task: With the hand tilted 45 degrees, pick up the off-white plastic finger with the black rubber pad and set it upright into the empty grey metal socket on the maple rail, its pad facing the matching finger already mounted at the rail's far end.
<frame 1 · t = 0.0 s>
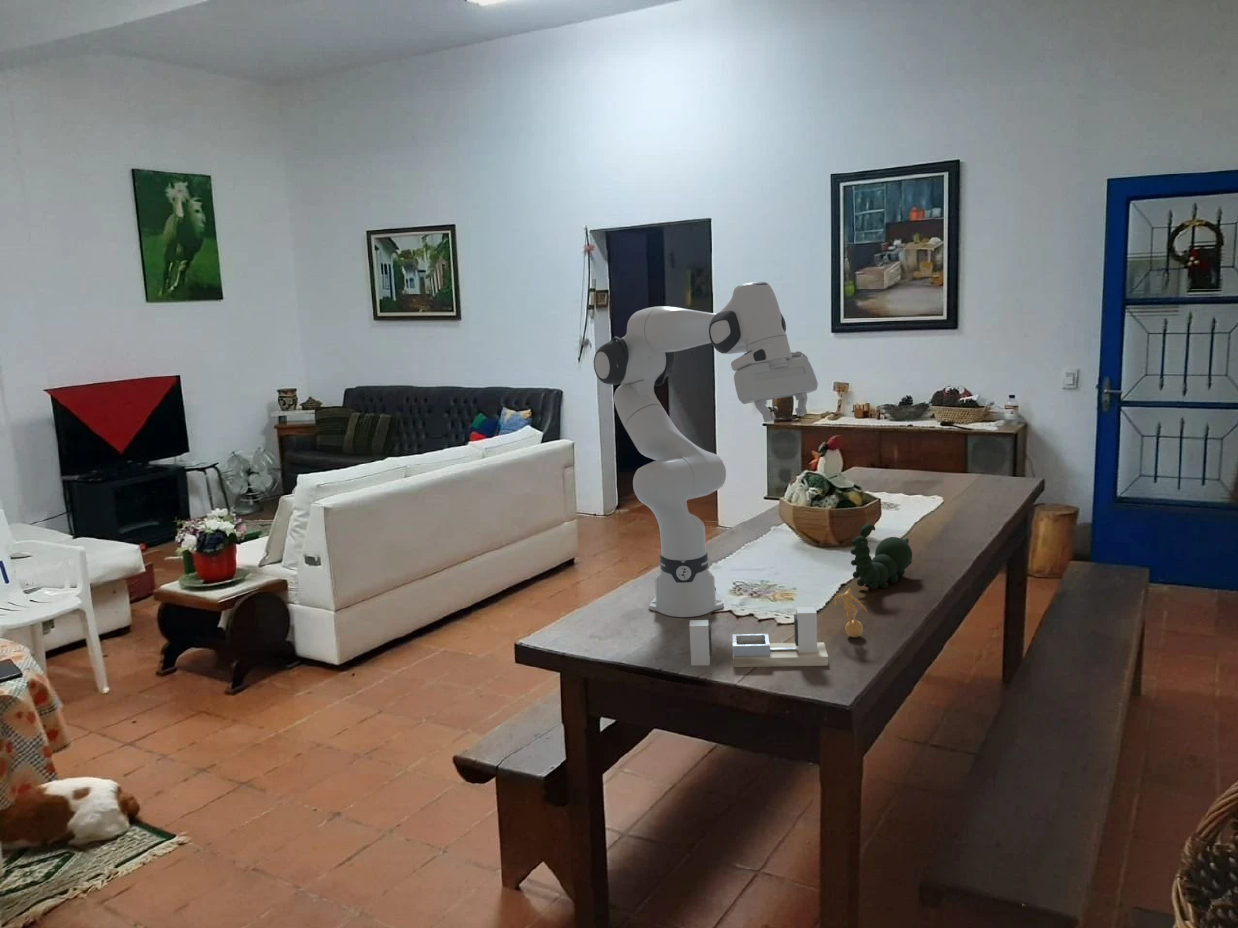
hand: (786, 418, 203), 52 cm above the table, tool tilted 20°, fingers open, 8 cm apart
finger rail: (779, 658, 209), on the table
figurine: (851, 638, 218), on the table
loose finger: (700, 662, 210), on the table
toy figurine: (883, 583, 254), on the table
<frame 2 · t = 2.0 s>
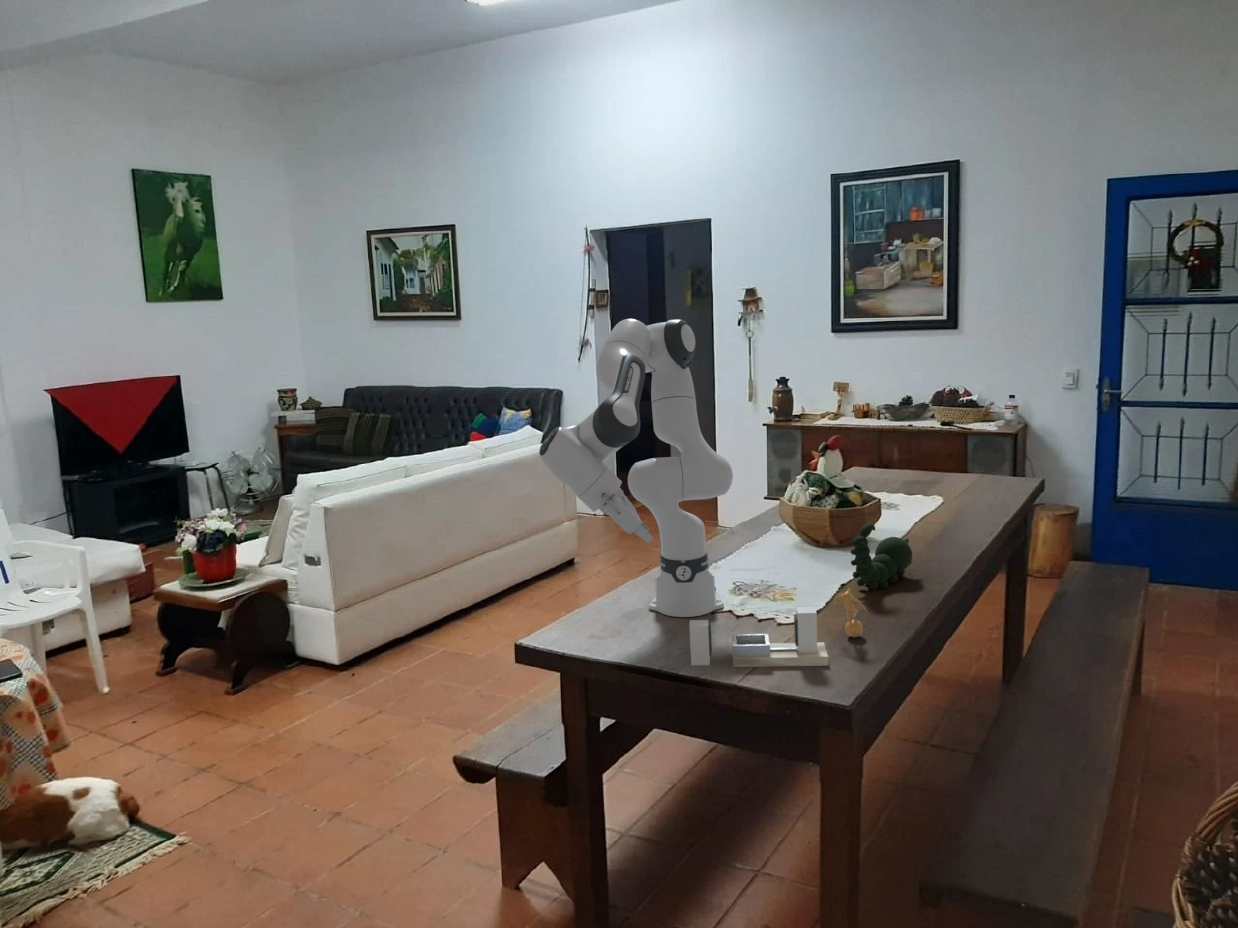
hand: (648, 536, 204), 29 cm above the table, tool tilted 40°, fingers open, 8 cm apart
nothing on the table moved.
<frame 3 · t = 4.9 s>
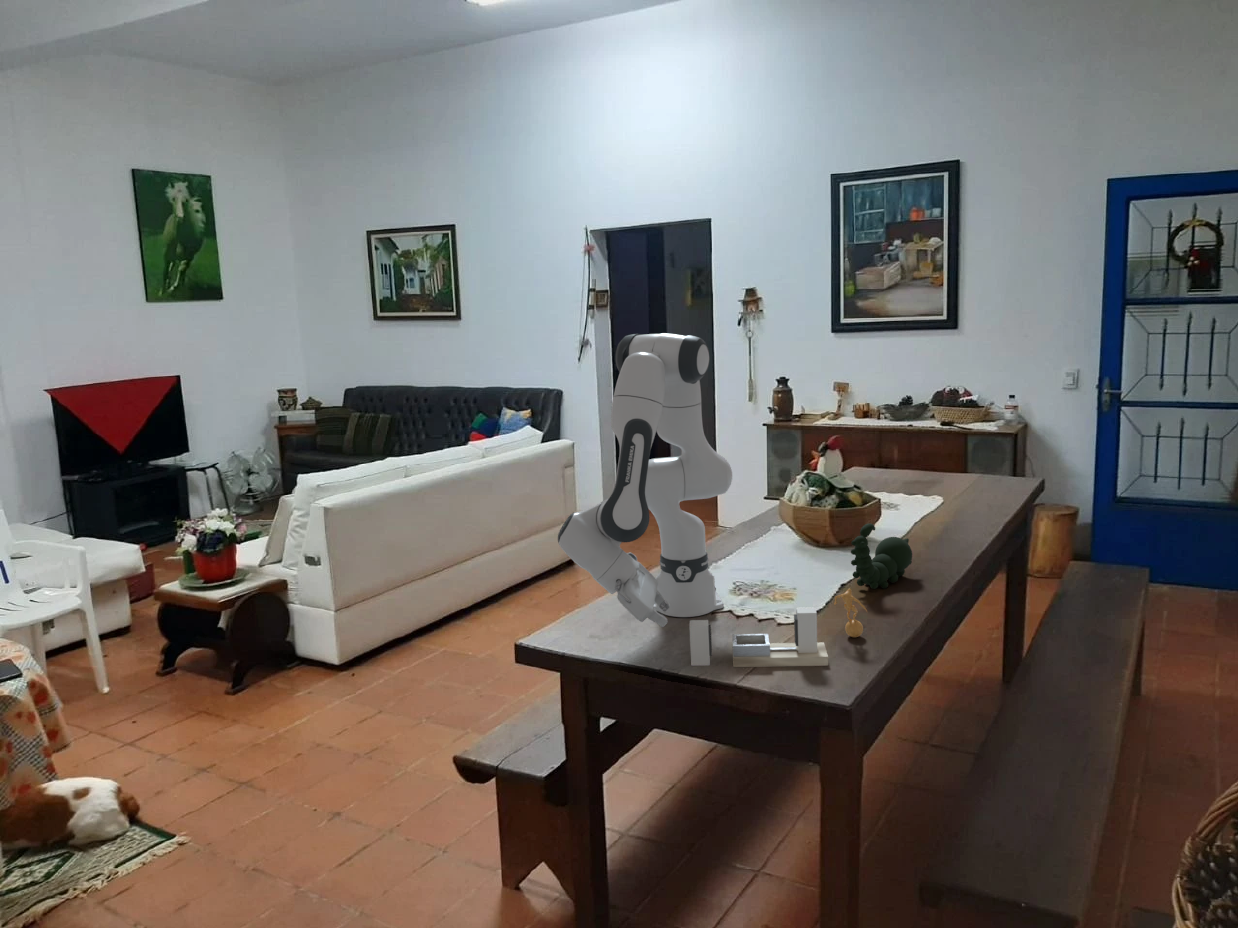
hand: (666, 615, 208), 11 cm above the table, tool tilted 45°, fingers open, 8 cm apart
nothing on the table moved.
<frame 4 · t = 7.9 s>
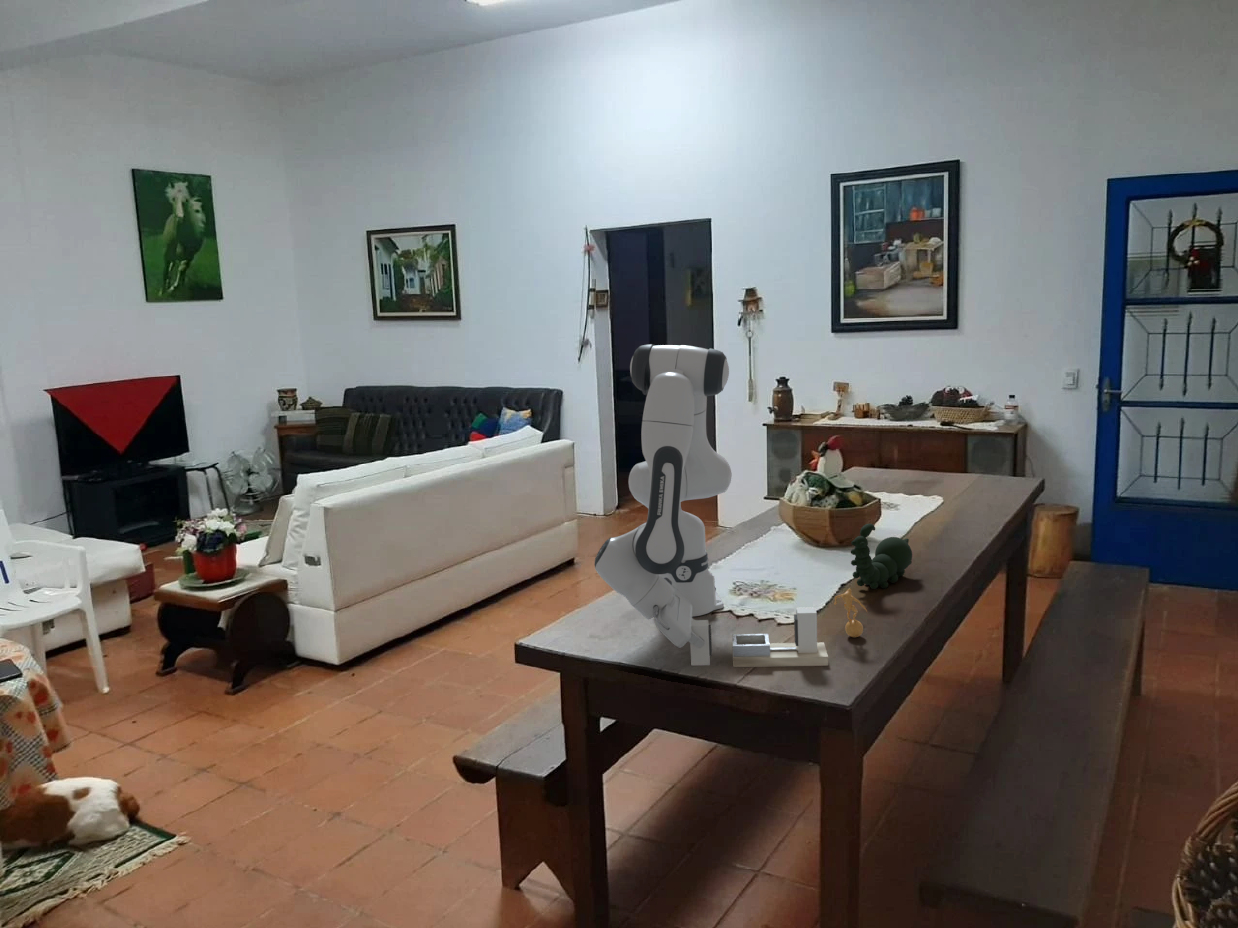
hand: (702, 640, 209), 5 cm above the table, tool tilted 45°, fingers closed on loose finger, 3 cm apart
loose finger: (700, 661, 210), on the table, touching gripper
everything else where it was.
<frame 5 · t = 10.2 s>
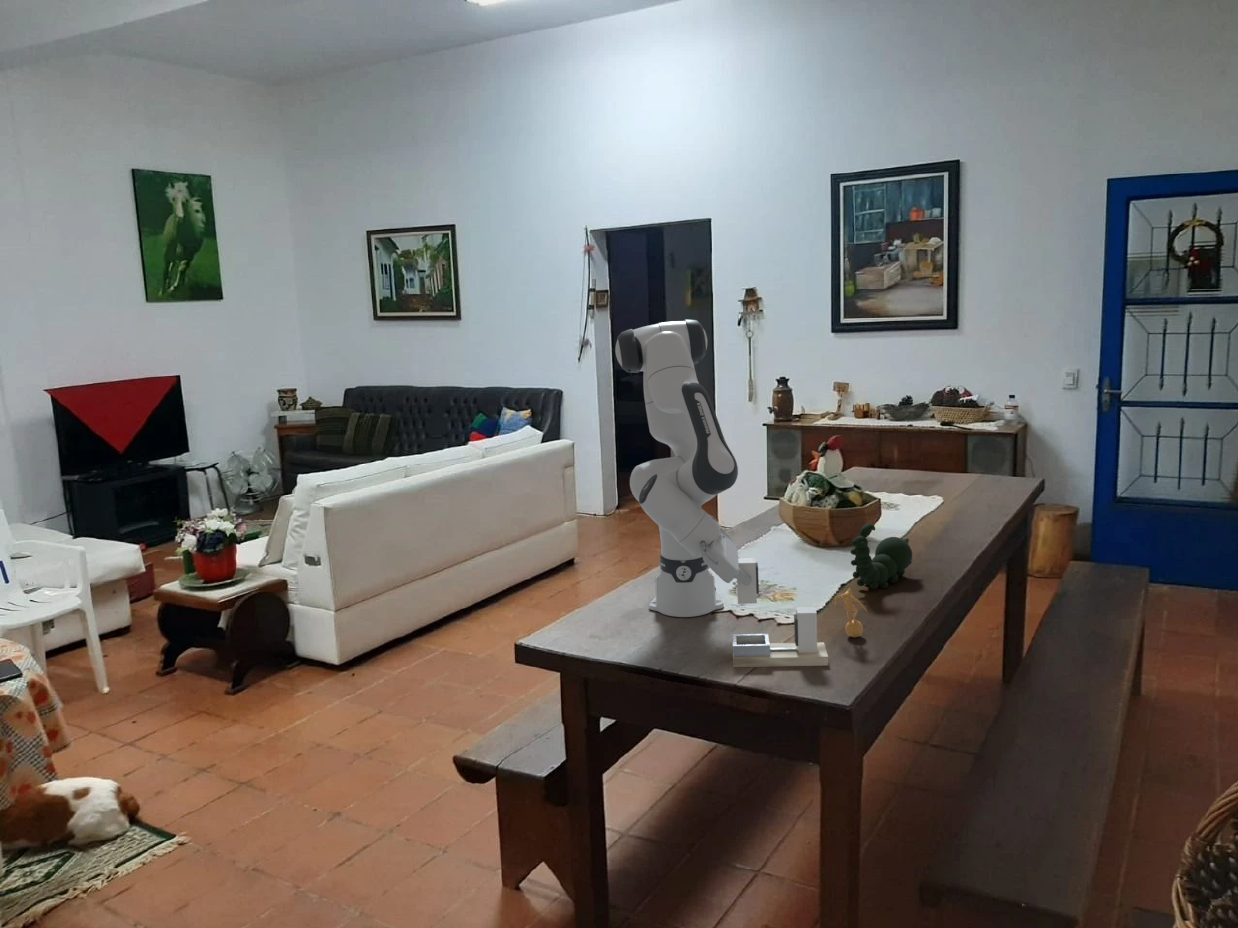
hand: (749, 578, 206), 18 cm above the table, tool tilted 45°, fingers closed on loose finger, 3 cm apart
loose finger: (747, 600, 207), point 13 cm above the table, touching gripper
everything else where it was.
when the fingers open (8 cm above the table, at t = 12.8 s): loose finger drops 1 cm, resting on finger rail.
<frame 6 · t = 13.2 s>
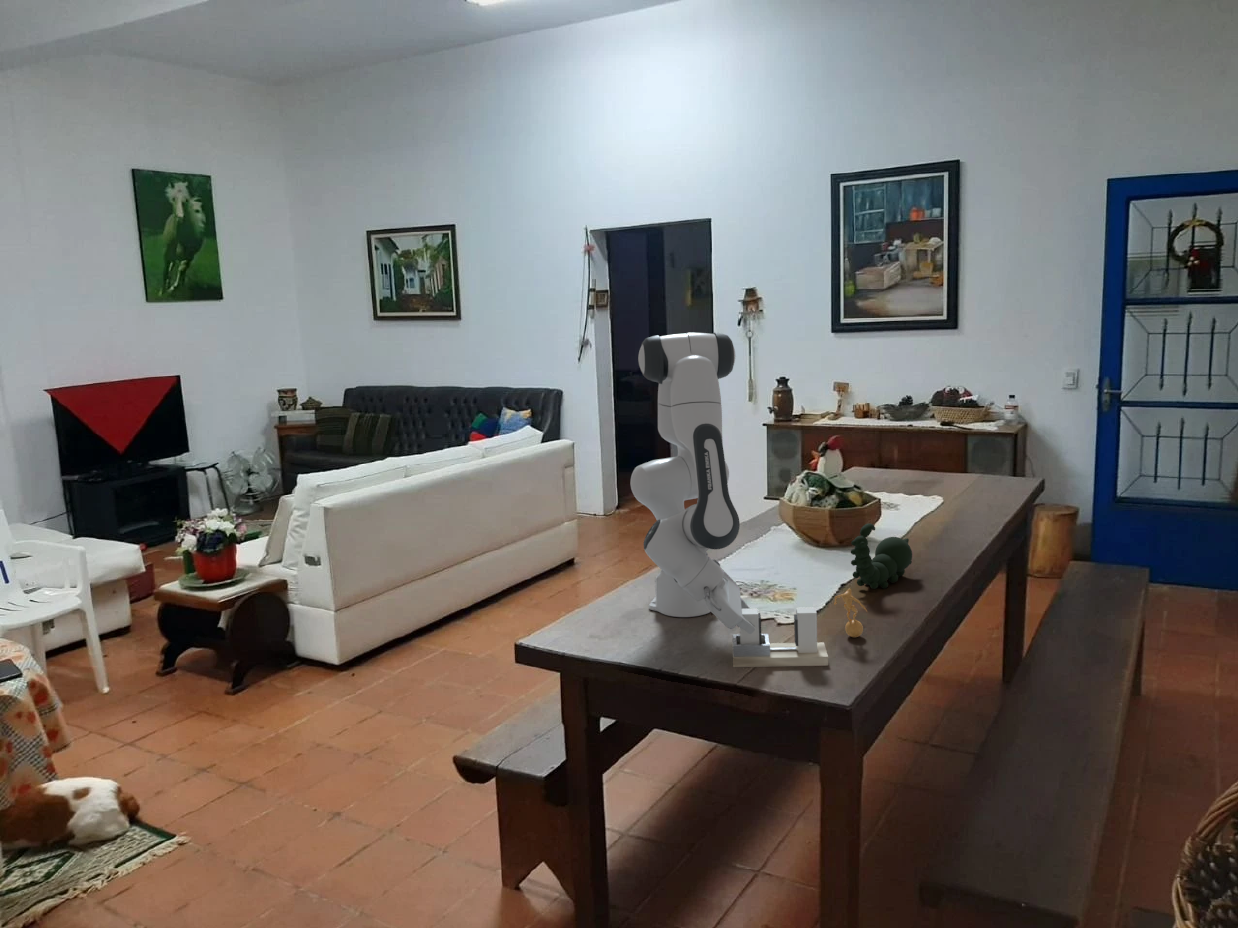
hand: (752, 622, 208), 8 cm above the table, tool tilted 45°, fingers open, 8 cm apart
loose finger: (750, 650, 209), point 2 cm above the table, touching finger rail
everything else where it was.
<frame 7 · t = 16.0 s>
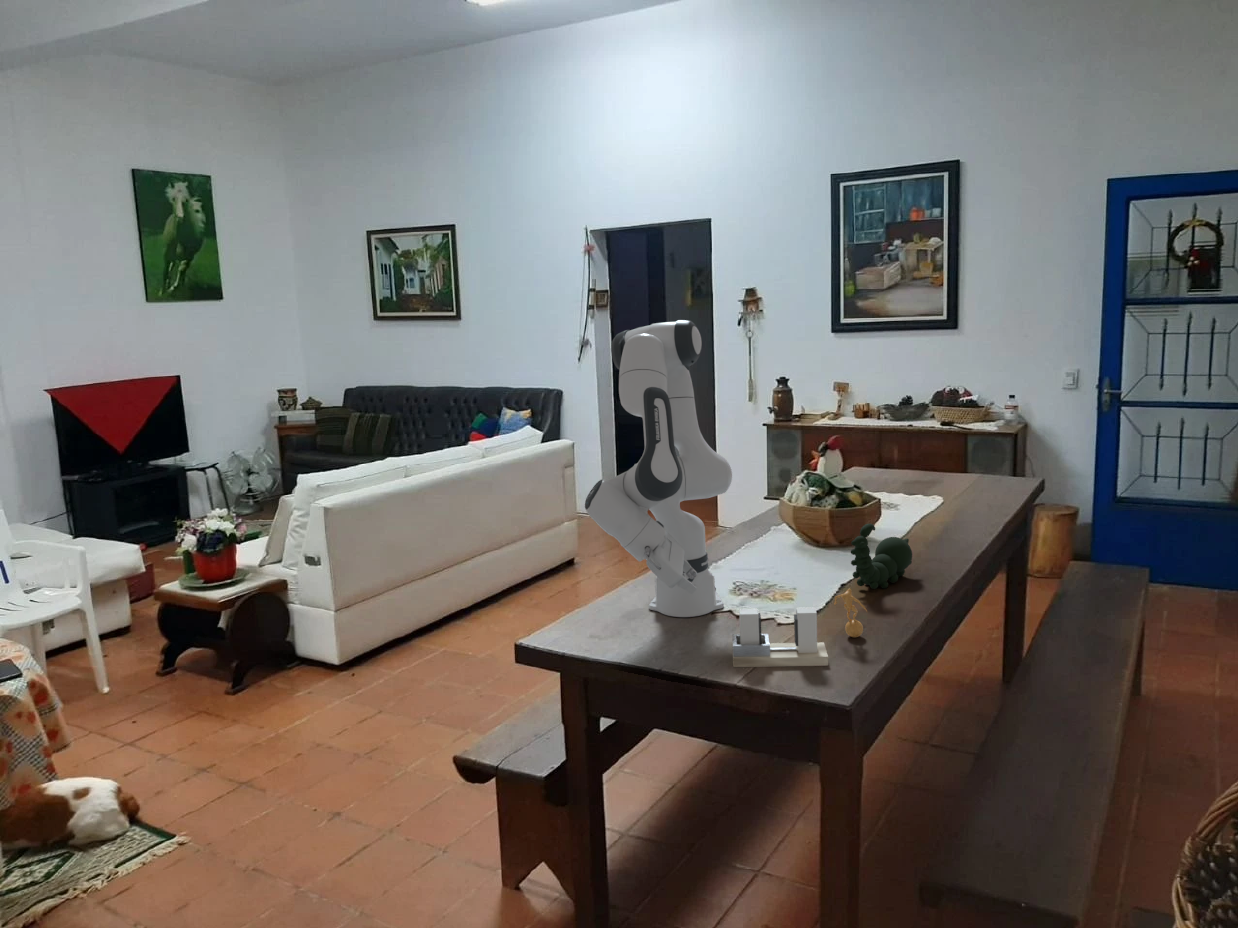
hand: (694, 583, 208), 18 cm above the table, tool tilted 45°, fingers open, 8 cm apart
nothing on the table moved.
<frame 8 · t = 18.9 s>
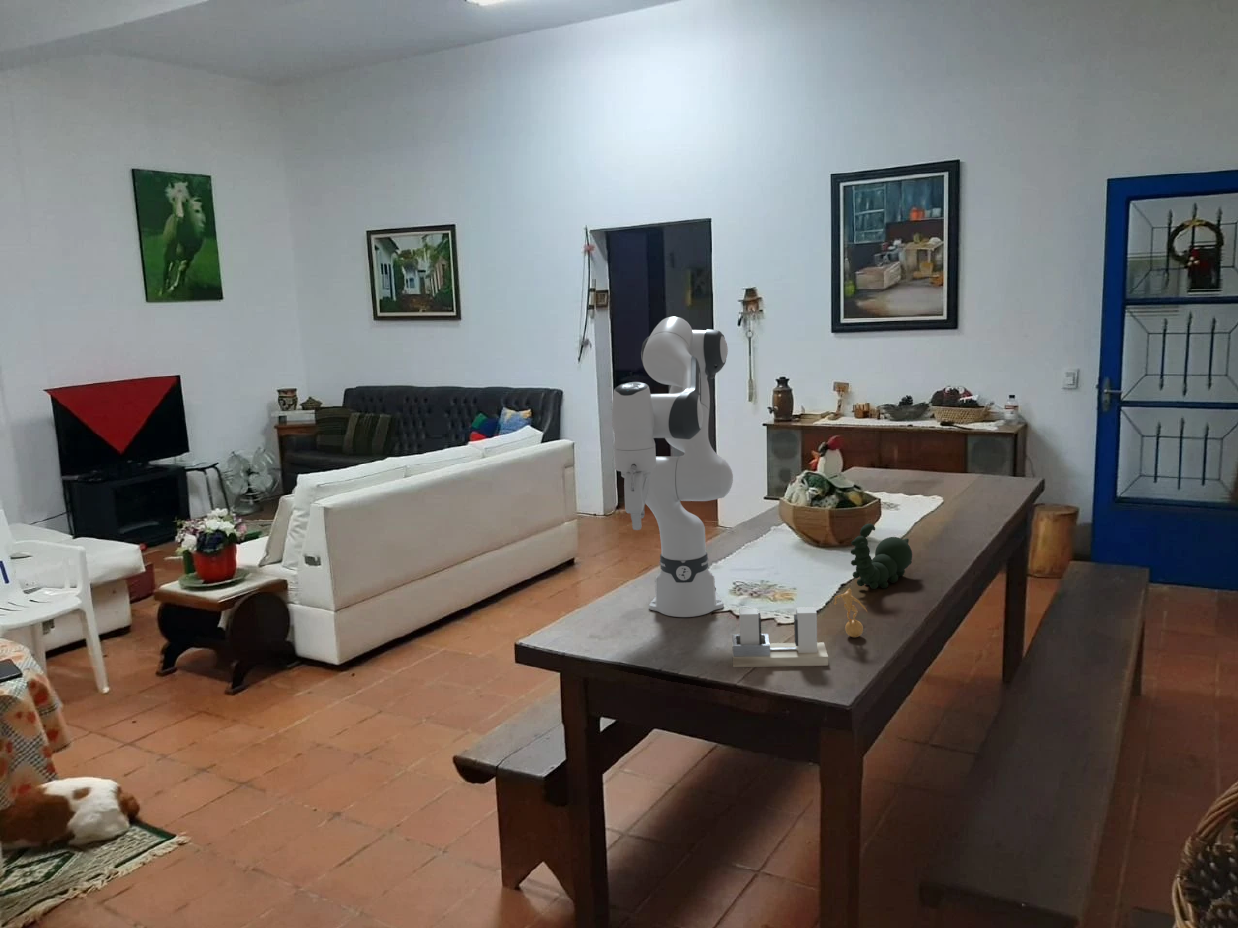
hand: (638, 523, 207), 31 cm above the table, tool pointing down, fingers open, 8 cm apart
nothing on the table moved.
at the end: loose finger 0.2 cm from the target spot on the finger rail, point 2.0 cm above the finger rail's base; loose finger tilted 0°; the gripper is holding nothing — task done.
